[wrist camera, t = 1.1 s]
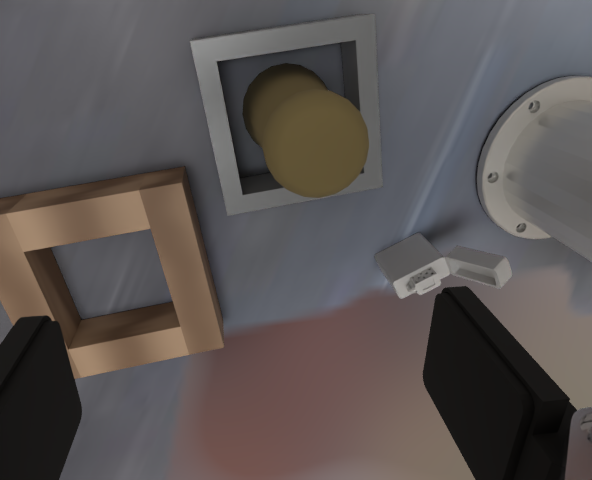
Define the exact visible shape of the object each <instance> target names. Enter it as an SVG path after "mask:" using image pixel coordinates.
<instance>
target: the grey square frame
mask: <svg viewBox="0 0 592 480" xmlns="http://www.w3.org/2000/svg"><path fill="white" fill-rule="evenodd" d="M340 42H341V52H342V65H343V78H344V91H345V98H346V99H348V100H349V101H350V102H351V103H352V104H353V105H354V106H355V107H356V108H357V109H358V110H359V111H360V113H361V115H362V117H363V119H364V122H365V124H366V126H367V129H368V138H369V150H368V155H367V160H366V163H365V165H364V167H363V168H362V170H361V172H360V174H359V176H358V177H357V178H356V179H355V180H354V181H353V182H352V183H351V184H350V185H349V186H348V187H346V188H345V189H343V190H341V191H340V192H338V193H336V194H334V195H330V196H326V197H322V198H327V197H332V196H338V195H343V194H349V193H354V192H360V191H365V190H370V189H376V188H381V187H383V182H382V159H381V137H380V114H379V92H378V69H377V46H376V24H375V14H357V15H351V16H344V17H337V18H330V19H324V20H317V21H310V22H303V23H297V24H290V25H283V26H276V27H270V28H263V29H256V30H249V31H243V32H236V33H229V34H222V35H216V36H209V37H202V38H195V39H192V40H191V41H190V44H191V49H192V54H193V58H194V63H195V68H196V72H197V77H198V81H199V86H200V91H201V95H202V100H203V105H204V109H205V114H206V118H207V123H208V128H209V132H210V137H211V141H212V146H213V151H214V155H215V160H216V165H217V169H218V174H219V178H220V183H221V188H222V192H223V197H224V202H225V206H226V211H227V215H228V216H230V215H235V214H240V213H246V212H251V211H257V210H262V209H267V208H273V207H278V206H284V205H289V204H295V203H300V202H305V201H311V200H316V199H322V198H311V197H303V196H300V195H298V194H295V193H293V192H290V191H288V190H287V189H285V188H284V187H283V186H282V185H281V184H280V183H278V182H277V181H276V180H275V179H274V177H273V175H272V174H271V173H266V174H260V175H255V176H249V177H244V178H240V177H239V172H238V167H237V162H236V157H235V152H234V147H233V141H232V136H231V131H230V126H229V121H228V116H227V111H226V106H225V100H224V95H223V90H222V85H221V80H220V75H219V70H218V65H217V61H223V60H229V59H236V58H242V57H249V56H255V55H262V54H269V53H275V52H282V51H288V50H295V49H301V48H308V47H314V46H321V45H327V44H334V43H340Z"/></svg>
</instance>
